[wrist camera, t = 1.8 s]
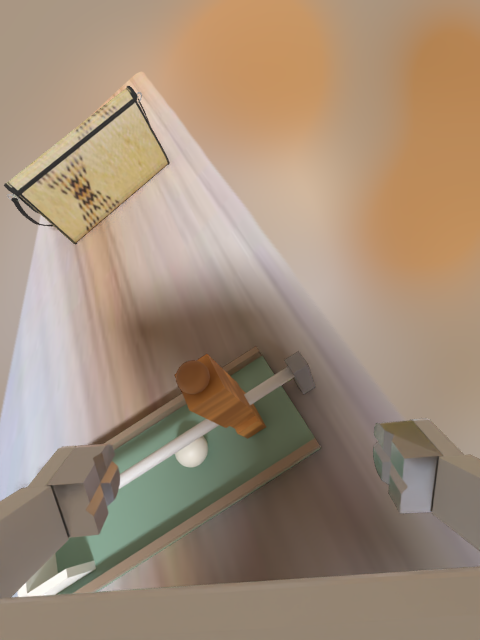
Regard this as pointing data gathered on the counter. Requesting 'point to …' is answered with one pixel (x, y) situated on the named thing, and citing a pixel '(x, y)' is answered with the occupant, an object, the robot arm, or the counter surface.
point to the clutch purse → (92, 168)
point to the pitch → (183, 477)
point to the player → (217, 396)
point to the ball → (193, 453)
